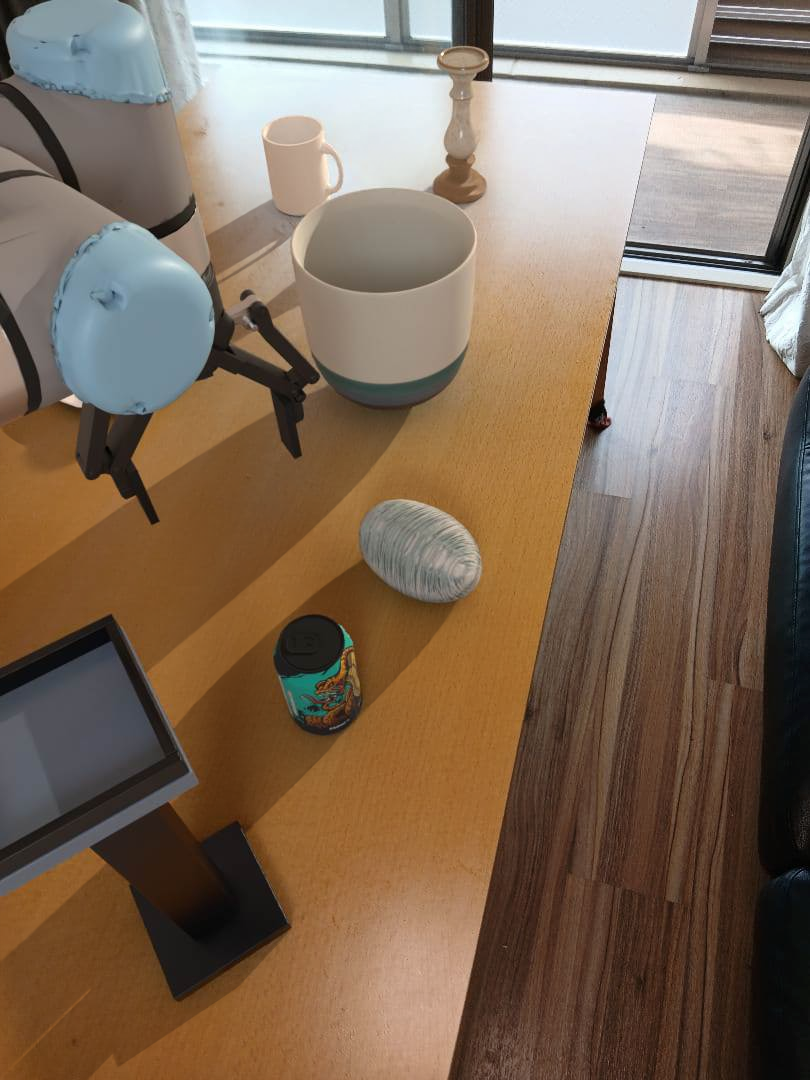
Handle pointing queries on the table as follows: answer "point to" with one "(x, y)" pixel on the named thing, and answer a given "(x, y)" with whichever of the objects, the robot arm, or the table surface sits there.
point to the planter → (386, 293)
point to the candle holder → (461, 127)
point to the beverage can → (318, 674)
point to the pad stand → (122, 804)
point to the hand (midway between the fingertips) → (222, 480)
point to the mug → (298, 163)
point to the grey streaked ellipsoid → (420, 551)
